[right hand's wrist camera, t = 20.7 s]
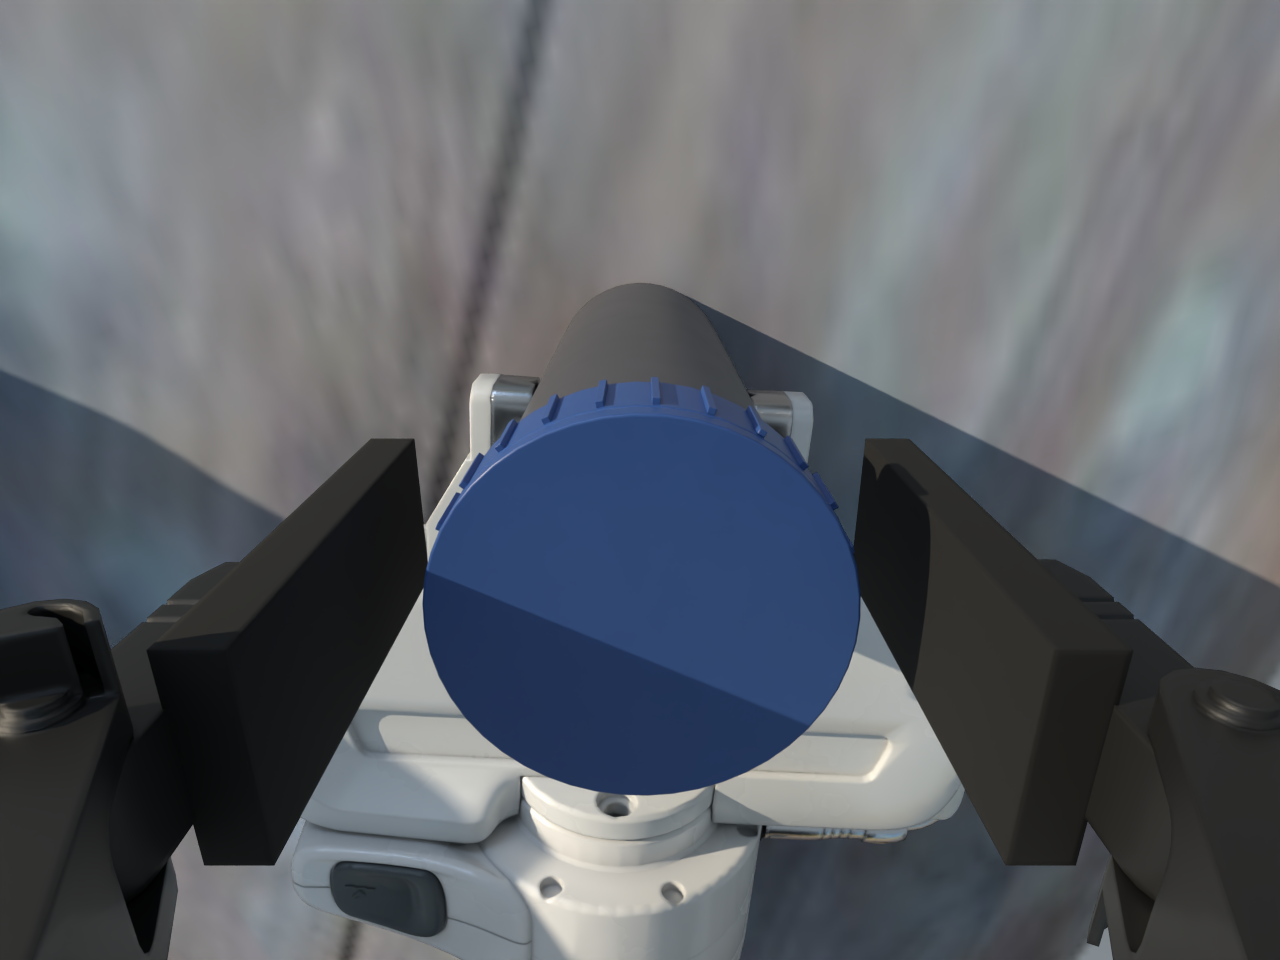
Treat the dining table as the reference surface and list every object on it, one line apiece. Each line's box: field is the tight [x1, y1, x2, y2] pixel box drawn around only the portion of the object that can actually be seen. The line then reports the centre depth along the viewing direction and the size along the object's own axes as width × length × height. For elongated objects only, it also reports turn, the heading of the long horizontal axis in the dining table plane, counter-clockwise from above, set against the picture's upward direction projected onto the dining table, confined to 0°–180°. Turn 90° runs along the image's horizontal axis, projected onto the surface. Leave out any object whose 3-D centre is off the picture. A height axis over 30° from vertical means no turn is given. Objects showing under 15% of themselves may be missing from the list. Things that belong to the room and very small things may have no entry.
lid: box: [422, 377, 861, 796], centre depth 11 cm, size 6×6×2 cm
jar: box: [520, 283, 761, 421], centre depth 18 cm, size 5×5×15 cm
